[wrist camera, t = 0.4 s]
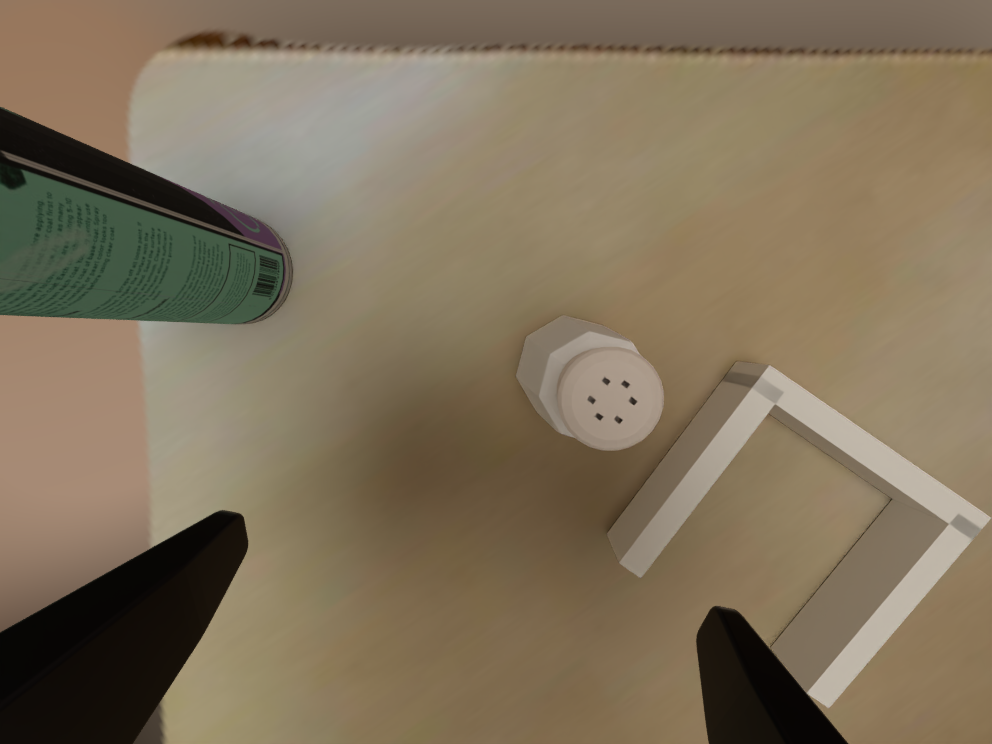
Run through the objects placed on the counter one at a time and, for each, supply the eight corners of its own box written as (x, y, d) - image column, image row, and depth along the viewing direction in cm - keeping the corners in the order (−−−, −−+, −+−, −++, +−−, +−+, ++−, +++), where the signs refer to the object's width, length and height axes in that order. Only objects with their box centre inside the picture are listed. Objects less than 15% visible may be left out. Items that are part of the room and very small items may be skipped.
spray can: (268, 199, 23) (-1330, -656, 3) (309, 301, 23) (-920, 107, 3) (173, 240, 24) (-1754, -288, 4) (214, 339, 24) (-1355, 361, 4)
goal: (789, 660, 23) (828, 708, 20) (606, 534, 23) (618, 563, 20) (928, 493, 22) (991, 517, 19) (736, 360, 22) (769, 364, 19)
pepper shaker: (579, 443, 23) (629, 541, 12) (493, 379, 23) (467, 418, 12) (646, 358, 23) (763, 381, 12) (559, 292, 23) (594, 252, 12)
